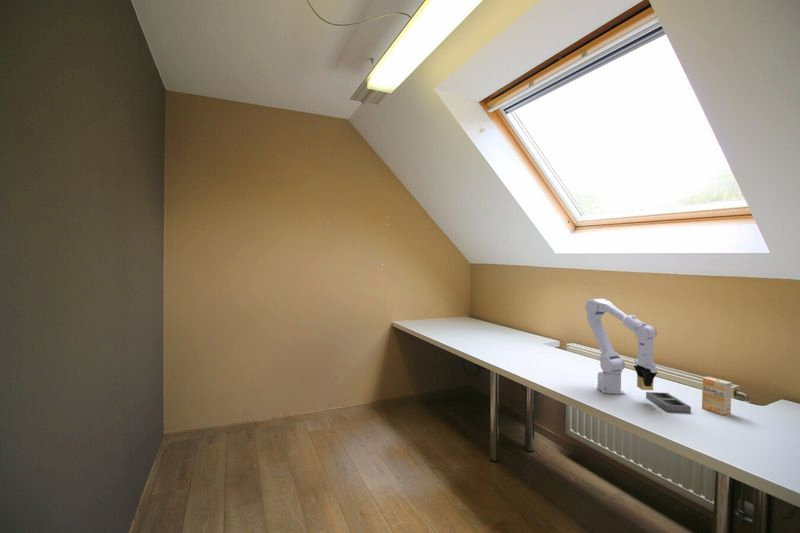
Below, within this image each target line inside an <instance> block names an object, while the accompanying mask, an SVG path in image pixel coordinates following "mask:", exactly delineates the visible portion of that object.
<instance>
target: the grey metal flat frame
mask: <svg viewBox="0 0 800 533" xmlns="http://www.w3.org/2000/svg"><path fill="white" fill-rule="evenodd" d="M645 398H646V399H647V400H649V401H650V402H652V403H653V404H654V405H656V406H658V407H659V408H661V409H662V410H663V411H665V412H667V413H684V414H685V413H687V414H691V412H692V408H691V407H692V406H690V405H689V404H687V403H685V402H683V401H682V400H680V399H678V398H677V397H676V396H673V395H672V394H670V393H669V392H655V391H654V392H653V391H652V392H651V391H646V392H645Z"/></svg>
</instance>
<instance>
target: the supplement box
mask: <svg viewBox="0 0 800 533" xmlns="http://www.w3.org/2000/svg"><path fill="white" fill-rule="evenodd" d="M732 384H733V383H732V382H731V381H727V380H722V379H719V378H715V377H711V376H704V377H702V392H701V393H702V394H701V396H702V398H701V409H702V410H706V411H710V412H712V413H716V414H719V415H721V416H728V415H731V411H732V409H731V408H732V407H731V406H732V387H733V385H732Z"/></svg>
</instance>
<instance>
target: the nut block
mask: <svg viewBox="0 0 800 533" xmlns="http://www.w3.org/2000/svg"><path fill="white" fill-rule="evenodd" d="M636 387H637V388H639V389H640V390H642V391H654V381H653V382H652V385H651V387H649V386H645V383H644V376H642V375H636Z"/></svg>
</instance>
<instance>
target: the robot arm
mask: <svg viewBox="0 0 800 533" xmlns="http://www.w3.org/2000/svg"><path fill="white" fill-rule="evenodd" d="M584 308H585V310H586V320H587V321H588V324H589V326H590V329H591V332H592V333H593V337H594V339H595V341H596V343H597V346H598V348H599V351H600V356H599V358H598V360H599V362H600V363H599V364H600V369H601V370H602V371H598V373H597V386H596V389H598V390H599V391H600V390H601V391H600V392H601V393H603V394H615V395H616V394H617V395H625V394H626V393H625V392H624V391H623V390H622V372H623V370H624V369H625V366H626V364H625V361H624V360H623V358H622V357H621V356H620V353H618V352H617V351H615V350H614V347H613V346H612V342H611V341H610V338H609V336H608V334H607V332H606V329H605V327H604V324H603V323H602V320H601V319H602V317H603V316H604V315H605V314H606V313H608V314H609V315H612V316H613V317H615V318H616V319H618V320H619V321H621V322H622V325H623V326H624V327H625V328H627V329H629V330H630V331H631V332H633V333H634V334H635V337H636V338H637V358H634V364H636V365H633V368H634V370H635V372H636V374H637V375H642V376H644V383H645V386H649V387H651V385H652V382H653V383H654V379H655V377H656V376H657V374H658V368H657V367H656V365H657V364H656V363H654V343H655V342H654V341H655V340H654V339H655V338H656V337H657V334H658V331H657V329H656V328H655V327H654V326H653V325H652V324H647V323H646V322H644V321H642V320H640V319H638V318H637V316H636V315H634V314H633V315H632V314H628V315H627V314H626V313H625V312H623V311H622V310H620V309H619V308H618V307H617V306H615V305H614V304H613V303H612V302H611V301H610V300H608V299H606V298H595V299H594V298H590V299H588V300H587V301H586V303H585V305H584ZM637 375H636V376H637Z"/></svg>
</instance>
